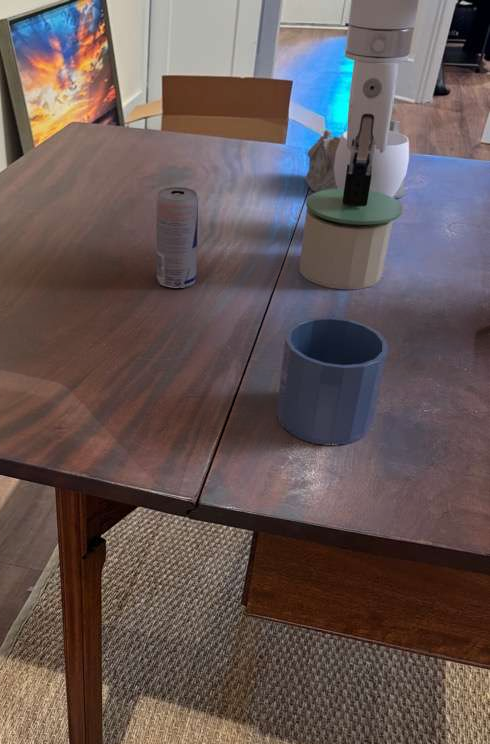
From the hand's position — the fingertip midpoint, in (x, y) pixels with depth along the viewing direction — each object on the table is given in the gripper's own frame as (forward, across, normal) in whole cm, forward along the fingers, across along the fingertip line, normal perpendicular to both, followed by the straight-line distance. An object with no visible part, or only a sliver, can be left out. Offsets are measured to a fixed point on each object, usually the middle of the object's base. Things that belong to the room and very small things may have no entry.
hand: (355, 199), depth 95 cm
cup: (+11, +14, -2) cm, 17 cm away
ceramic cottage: (+10, +38, 0) cm, 39 cm away
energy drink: (+10, -9, +22) cm, 26 cm away
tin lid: (+1, 0, 0) cm, 1 cm away
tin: (+10, 0, +1) cm, 10 cm away
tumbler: (+10, -37, +1) cm, 38 cm away
